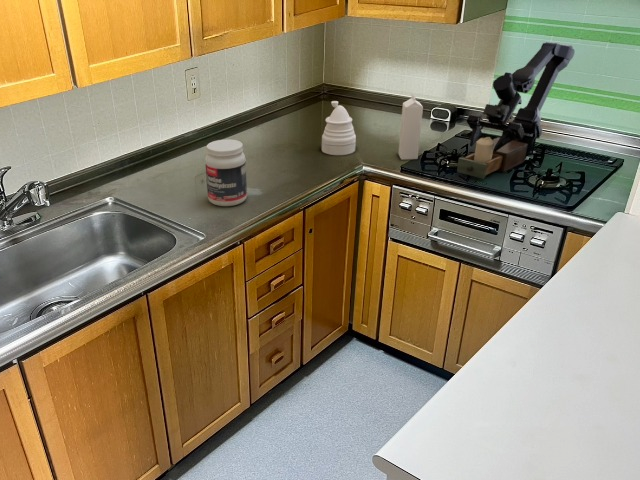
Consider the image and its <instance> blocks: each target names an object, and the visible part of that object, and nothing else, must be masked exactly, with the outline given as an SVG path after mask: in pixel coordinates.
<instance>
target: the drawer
mask: <svg viewBox="0 0 640 480" xmlns="http://www.w3.org/2000/svg"><path fill="white" fill-rule="evenodd" d="M474 156H475V152H474V153H471V154H469V155H467V156H464V157H462V156H460V157H459V158H458V160H457V166H456V167H457V168H456V173H460V174H464V175H467V176H471V177H475V178H478V179H482V180H483V179H485V178H486V176H487V175H490V174H491V173H494V172H496V171H497V170H498V169H500V168H502V163H503V157H504V155H500V154H495V153H492V159H491V160H490V161H488V162H486V163H481V162H477V161H474Z"/></svg>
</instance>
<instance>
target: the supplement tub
mask: <svg viewBox="0 0 640 480" xmlns="http://www.w3.org/2000/svg"><path fill="white" fill-rule="evenodd" d="M243 151H244V144H243V142H241V141H239V140H236V139H217V140H213V141H211V142H209V143H207V144H206V153H207V154H206V155H205V159H204V163H205V176H206V177H205V178H206V190H207V191H206V192H207V199H208V201H209V203H211V204H213V205H215V206H218V207H233V206H238V205H240V204H242V203H244V202H245V201H246V200H247V197H248V185H247V159H246V155H245V152H243Z"/></svg>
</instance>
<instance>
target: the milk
mask: <svg viewBox="0 0 640 480" xmlns="http://www.w3.org/2000/svg"><path fill="white" fill-rule="evenodd" d="M401 108H402V109H401V119H400V132H399V141H398V142H399V143H398V156H399V158H400V160H401V161H402V160H403V161H404V160H418V159H419V151H420V141H421V133H422V132H421V131H422V124H423V123H422V122H423V114H424V106H423V105H422V104H421V102H420V101H418V100H416V96H415V95H414V94H413V93H412V94H411V98H409V99H408V100H406V101H403V102H402V107H401Z"/></svg>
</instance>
